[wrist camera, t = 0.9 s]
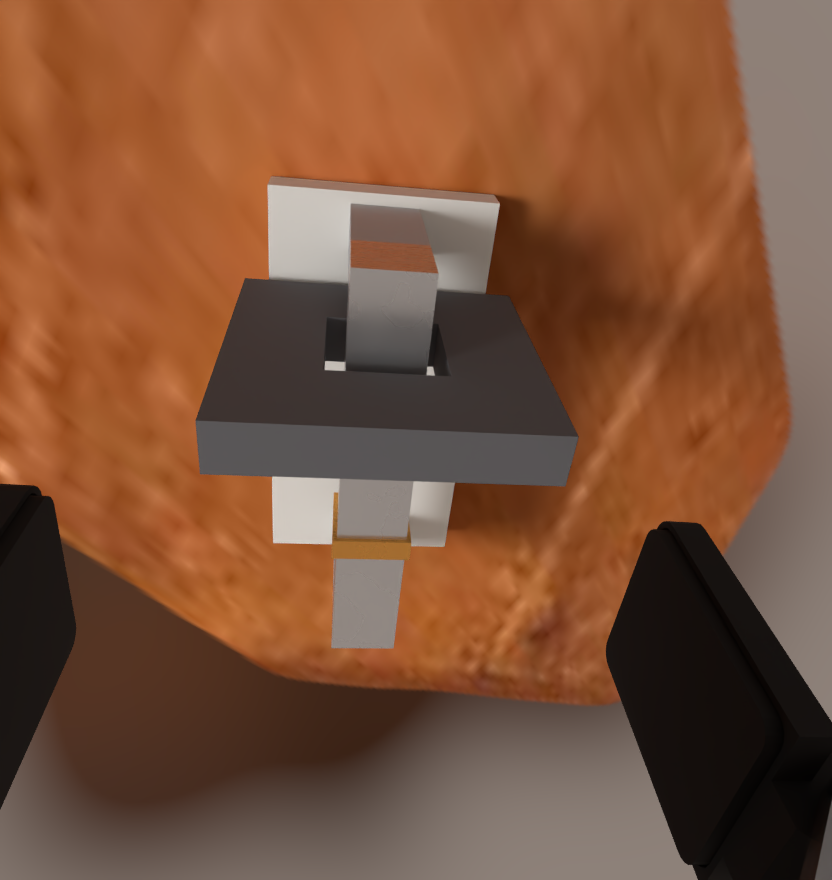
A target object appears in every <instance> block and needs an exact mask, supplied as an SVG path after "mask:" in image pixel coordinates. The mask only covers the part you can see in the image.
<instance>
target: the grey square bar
mask: <svg viewBox="0 0 832 880" xmlns="http://www.w3.org/2000/svg"><path fill="white" fill-rule="evenodd" d="M438 276H439V273H438V269H437V266H436V262H435V259H434V256H433V252H432V249H431V246H430V245H417V244H403V243H390V242H376V241H363V240H351V241H350V262H349V282H348V302H347V323H346V343H345V363H344V371H354V372H374V373H393V374H412V375H427V367H428V359H429V350H430V342H431V334H432V326H433V317H434V309H435V301H436V293H437V284H438ZM413 482H414V481H391V480H361V479H339V486H338V492H334V499H333V526H332V557H331V559H335V567H334V588H333V613H332V648H393V647H394V639H395V631H396V622H397V614H398V606H399V598H400V589H401V581H402V573H403V565H404V560H409V558H410V550H411V534H410V525H409V515H410V507H411V499H412V490H413Z"/></svg>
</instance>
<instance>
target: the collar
mask: <svg viewBox="0 0 832 880" xmlns="http://www.w3.org/2000/svg"><path fill="white" fill-rule="evenodd" d="M347 302H348V285H338V284H323V283H308V282H293V281H278V280H263V279H248V278H245V280H244V283H243V286H242V289H241V292H240V295H239V297H238V300H237V303H236V306H235V309H234V312H233V315H232V318H231V320H230V323H229V326H228V329H227V332H226V335H225V338H224V341H223V343H222V346H221V349H220V352H219V355H218V358H217V361H216V364H215V366H214V369H213V372H212V375H211V378H210V381H209V384H208V387H207V389H206V392H205V395H204V398H203V401H202V404H201V407H200V410H199V412H198V415H197V418H196V431H197V443H198V455H199V467H200V474H211V475H241V476H271V477H301V478H331V479H361V480H391V481H421V482H451V483H480V484H510V485H540V486H566V482H567V478H568V475H569V471H570V467H571V463H572V460H573V456H574V452H575V448H576V445H577V441H578V435H577V433H576V431H575V429H574V426H573V424H572V422H571V420H570V418H569V416H568V414H567V412H566V410H565V408H564V406H563V404H562V402H561V400H560V398H559V396H558V394H557V392H556V390H555V388H554V386H553V384H552V382H551V380H550V378H549V376H548V374H547V372H546V370H545V368H544V366H543V364H542V362H541V360H540V358H539V356H538V354H537V352H536V350H535V348H534V346H533V344H532V342H531V340H530V338H529V336H528V334H527V332H526V330H525V328H524V326H523V324H522V322H521V320H520V318H519V316H518V314H517V312H516V309H515V307H514V305H513V303H512V301H511V299H510V297H509V296H504V295H489V294H474V293H459V292H444V291H437V293H436V301H435V309H434V317H433V326H432V334H431V342H430V350H429V359H428V367H433V369H434V374H435V376H432V375H412V374H393V373H374V372H354V371H335V370H325V361H333V362H345V343H346V323H347Z"/></svg>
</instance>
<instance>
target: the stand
mask: <svg viewBox="0 0 832 880" xmlns="http://www.w3.org/2000/svg"><path fill="white" fill-rule="evenodd" d="M499 206H500V203H499V202H498V200H497V199H496V197H495V195H490V194H478V193H467V192H455V191H443V190H431V189H419V188H407V187H395V186H383V185H371V184H359V183H347V182H335V181H323V180H311V179H299V178H287V177H276V176H271V178H270V180H269V183H268V235H269V280H278V281H293V282H308V283H323V284H338V285H348V282H349V262H350V241H351V240H363V241H376V242H390V243H403V244H417V245H430V246H431V249H432V252H433V256H434V259H435V262H436V266H437V269H438V273H439V276H438V284H437V291H444V292H459V293H474V294H485V293H486V287H487V281H488V274H489V268H490V262H491V256H492V250H493V243H494V237H495V231H496V225H497V219H498V212H499ZM344 363H345V362H333V361H325V370H335V371H344ZM427 375H432V376H435V374H434V369H433V367H427ZM454 485H455V483H451V482H421V481H414V482H413V490H412V499H411V507H410V515H409V525H410V534H411V546H435V547H445V541H446V535H447V528H448V522H449V516H450V510H451V504H452V497H453V491H454ZM338 486H339V479H331V478H301V477H272V500H273V543H300V544H332V526H333V499H334V492H338ZM334 567H335V559H334ZM333 588H334V577H333Z"/></svg>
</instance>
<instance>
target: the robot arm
mask: <svg viewBox="0 0 832 880" xmlns="http://www.w3.org/2000/svg"><path fill="white" fill-rule="evenodd" d="M75 635H76V623H75V617H74V611H73V606H72V600H71V595H70V590H69V584H68V578H67V573H66V567H65V562H64V556H63V551H62V545H61V540H60V534H59V529H58V523H57V518H56V512H55V507H54V503H53V500H52V498H51V497H49V496H42V494H41V491H40V490H39V488H38V487H36V486H31V485H13V484H0V809H1V807H2V804H3V802H4V800H5V797H6V796H7V793H8V791H9V789H10V787H11V784H12V782H13V780H14V778H15V775H16V773H17V771H18V768H19V766H20V764H21V762H22V760H23V757H24V755H25V753H26V751H27V749H28V746H29V744H30V742H31V740H32V737H33V735H34V733H35V730H36V728H37V726H38V724H39V721H40V719H41V717H42V715H43V713H44V710H45V708H46V706H47V704H48V701H49V699H50V697H51V695H52V693H53V690H54V688H55V686H56V683H57V681H58V679H59V677H60V675H61V672H62V670H63V668H64V665H65V663H66V661H67V659H68V657H69V654H70V652H71V650H72V647H73V644H74V640H75ZM606 658H607V663H608V666H609V669H610V672H611V674H612V677H613V680H614V682H615V685H616V688H617V690H618V693H619V696H620V698H621V701H622V704H623V706H624V709H625V712H626V714H627V717H628V719H629V722H630V725H631V727H632V730H633V733H634V736H635V738H636V741H637V743H638V746H639V749H640V751H641V754H642V757H643V759H644V762H645V765H646V767H647V770H648V773H649V775H650V778H651V781H652V783H653V786H654V789H655V791H656V794H657V797H658V799H659V802H660V805H661V807H662V810H663V813H664V815H665V818H666V820H667V823H668V826H669V829H670V831H671V834H672V837H673V839H674V842H675V845H676V847H677V850H678V852H679V854H680V857H681V858H682V860H683V861H684V862H685V863H686V864H688V865H693V868H694V870H695V873H696V876H697V878H698V880H832V722H831V720H830V719H829V717H828V716H827V714H826V713H825V711H824V710H823V708H822V707H821V705H820V703H819V702H818V700H817V699H816V697H815V696H814V695H813V693H812V691H811V690H810V688H809V687H808V685H807V684H806V682H805V681H804V679H803V678H802V676H801V675H800V673H799V672H798V670H797V669H796V667H795V666H794V664H793V662H792V661H791V659H790V658H789V656H788V655H787V653H786V652H785V650H784V649H783V647H782V646H781V644H780V643H779V641H778V640H777V638H776V637H775V635H774V634H773V632H772V631H771V629H770V627H769V626H768V625H767V623H766V621H765V620H764V618H763V617H762V615H761V614H760V612H759V611H758V609H757V608H756V606H755V605H754V603H753V602H752V600H751V599H750V597H749V596H748V594H747V593H746V591H745V590H744V588H743V587H742V585H741V583H740V582H739V580H738V579H737V577H736V576H735V574H734V573H733V571H732V570H731V568H730V567H729V565H728V564H727V562H726V561H725V559H724V558H723V556H722V555H721V553H720V551H719V550H718V548H717V547H716V545H715V544H714V542H713V541H712V539H711V538H710V536H709V535H708V533H707V532H706V530H705V529H704V528H703V527H702V525H701V524H698V523H689V522H671V521H665V522H662V523H661V524H660V525H659V526H658V528H657V529H653V530H651V531H650V532H649V533H648V535H647V537H646V539H645V542H644V545H643V547H642V550H641V553H640V555H639V558H638V561H637V563H636V566H635V569H634V571H633V574H632V577H631V579H630V582H629V585H628V587H627V590H626V593H625V595H624V598H623V601H622V603H621V606H620V609H619V611H618V614H617V617H616V619H615V622H614V625H613V627H612V630H611V633H610V635H609V638H608V641H607V645H606Z"/></svg>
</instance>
